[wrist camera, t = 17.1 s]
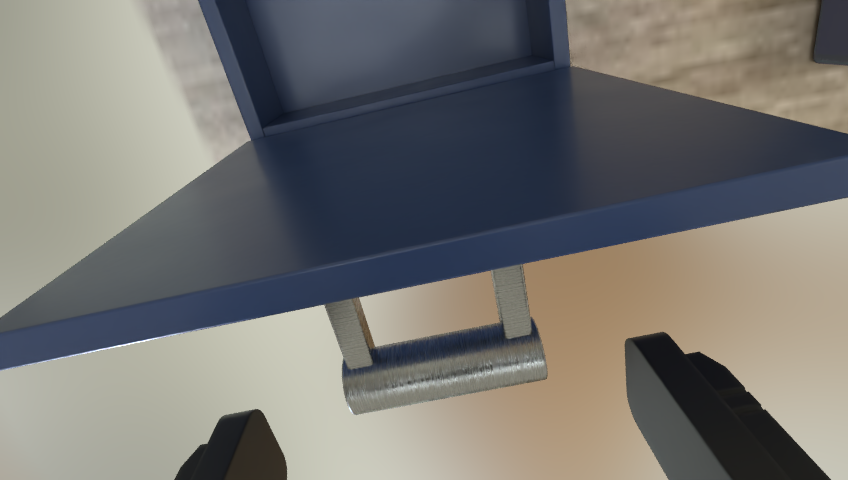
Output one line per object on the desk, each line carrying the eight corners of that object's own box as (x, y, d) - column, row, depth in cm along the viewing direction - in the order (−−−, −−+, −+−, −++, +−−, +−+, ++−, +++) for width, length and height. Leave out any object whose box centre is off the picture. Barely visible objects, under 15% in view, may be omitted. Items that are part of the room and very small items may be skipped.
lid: (-35, 341, 9) (109, 523, 11) (898, 144, 7) (844, 393, 10) (247, 141, 23) (283, 235, 26) (573, 65, 22) (581, 171, 25)
